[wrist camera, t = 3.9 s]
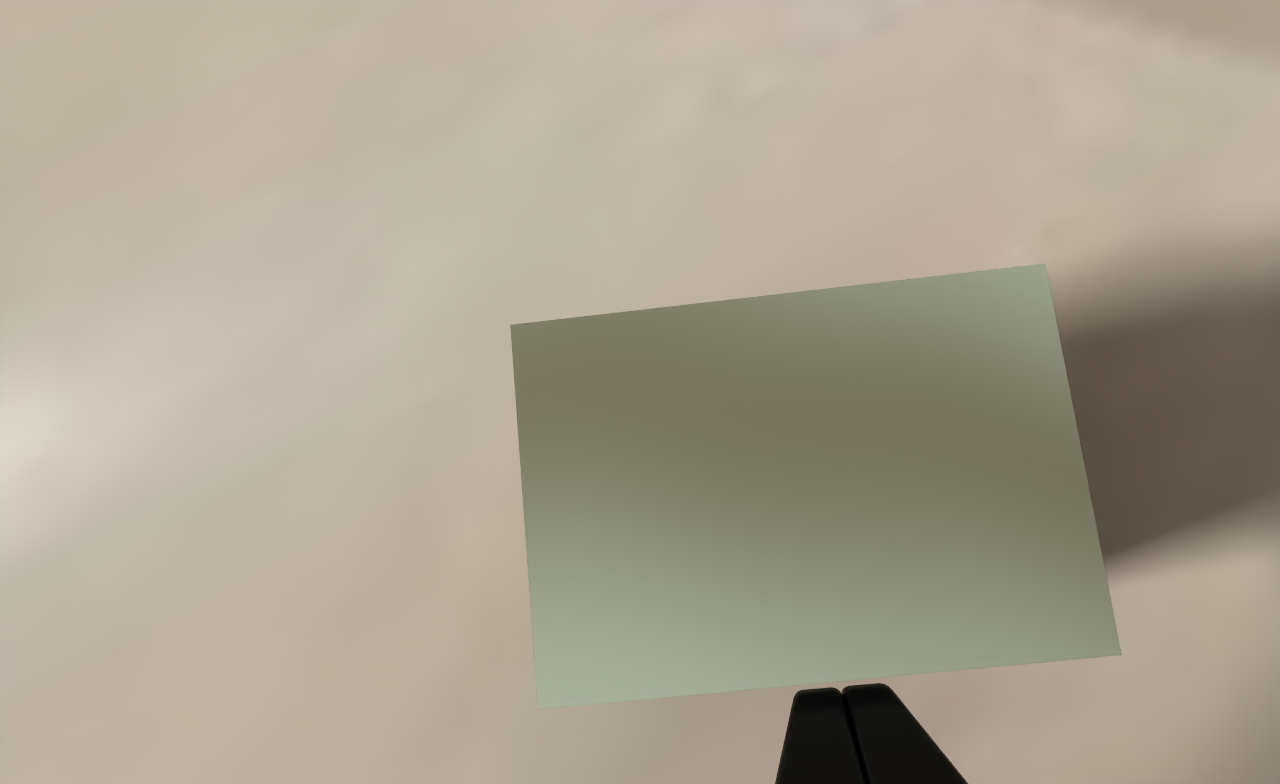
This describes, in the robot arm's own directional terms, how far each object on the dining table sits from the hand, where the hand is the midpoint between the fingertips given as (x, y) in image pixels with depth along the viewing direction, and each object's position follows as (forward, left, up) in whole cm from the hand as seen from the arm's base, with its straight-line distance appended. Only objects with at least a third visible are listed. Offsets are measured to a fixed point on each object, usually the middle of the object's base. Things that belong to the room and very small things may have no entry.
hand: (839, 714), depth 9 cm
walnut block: (+2, 0, -7) cm, 7 cm away
